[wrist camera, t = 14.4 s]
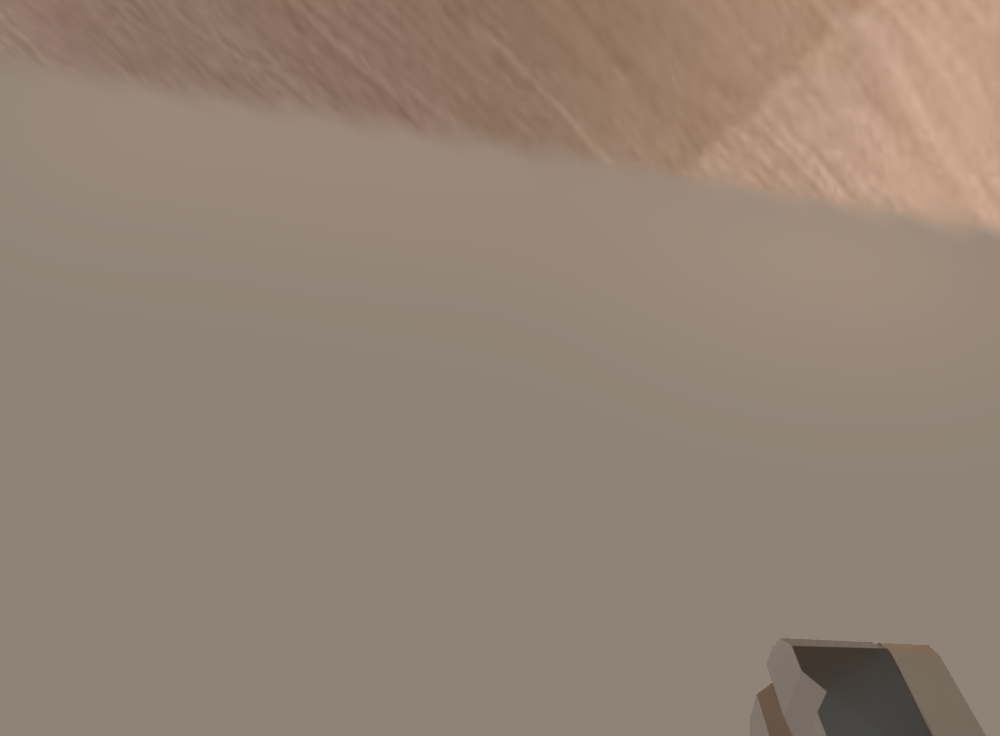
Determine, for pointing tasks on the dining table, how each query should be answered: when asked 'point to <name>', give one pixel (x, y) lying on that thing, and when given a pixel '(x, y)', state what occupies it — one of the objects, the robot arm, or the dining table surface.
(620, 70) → the dining table surface
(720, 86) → the dining table surface
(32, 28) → the dining table surface
